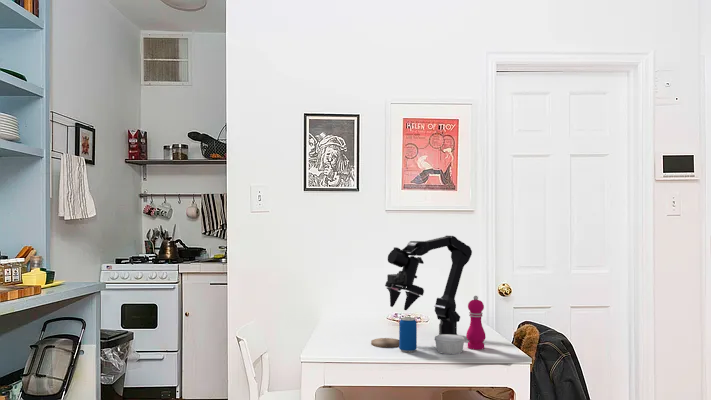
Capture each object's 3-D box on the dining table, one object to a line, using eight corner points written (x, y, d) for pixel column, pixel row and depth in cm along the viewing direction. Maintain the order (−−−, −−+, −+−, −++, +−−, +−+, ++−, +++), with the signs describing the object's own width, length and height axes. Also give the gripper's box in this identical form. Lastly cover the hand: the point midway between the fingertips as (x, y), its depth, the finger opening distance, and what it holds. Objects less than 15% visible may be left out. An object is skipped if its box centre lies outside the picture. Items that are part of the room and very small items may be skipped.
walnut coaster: (396, 339, 229) (396, 337, 229) (405, 346, 217) (405, 344, 217) (368, 341, 227) (368, 338, 227) (375, 348, 215) (375, 345, 215)
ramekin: (446, 356, 203) (446, 342, 203) (428, 350, 213) (428, 336, 213) (471, 353, 208) (471, 338, 209) (452, 346, 218) (452, 333, 218)
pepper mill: (481, 351, 211) (481, 297, 212) (463, 348, 215) (463, 296, 216) (488, 347, 217) (488, 295, 218) (470, 344, 221) (470, 293, 222)
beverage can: (418, 349, 213) (418, 317, 214) (414, 353, 207) (414, 320, 208) (401, 348, 215) (401, 316, 216) (397, 352, 209) (397, 319, 210)
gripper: (380, 263, 232) (369, 299, 229) (408, 266, 216) (396, 306, 213) (401, 271, 237) (390, 307, 234) (429, 275, 221) (418, 314, 218)
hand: (398, 308), depth 225 cm, fingers open, 9 cm apart
